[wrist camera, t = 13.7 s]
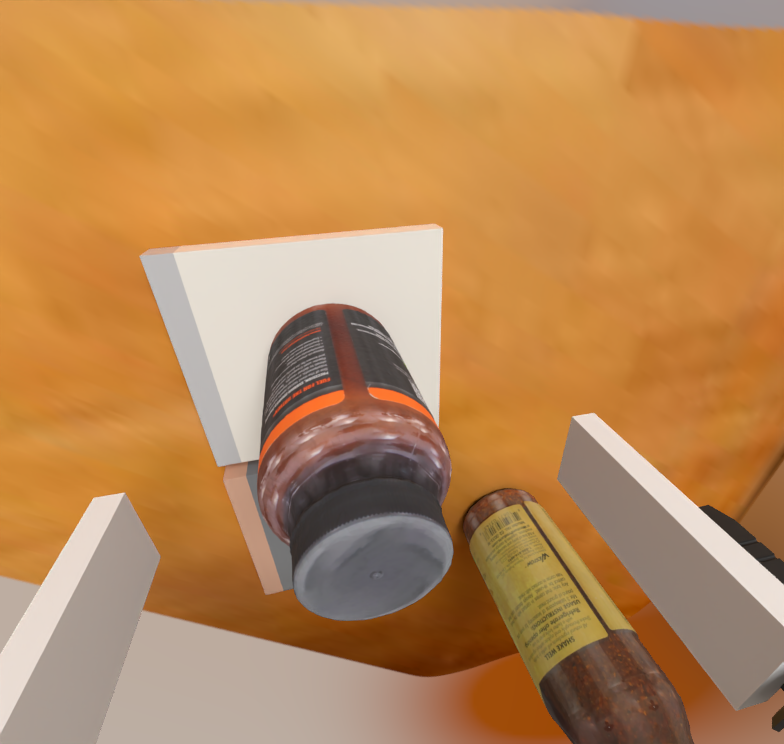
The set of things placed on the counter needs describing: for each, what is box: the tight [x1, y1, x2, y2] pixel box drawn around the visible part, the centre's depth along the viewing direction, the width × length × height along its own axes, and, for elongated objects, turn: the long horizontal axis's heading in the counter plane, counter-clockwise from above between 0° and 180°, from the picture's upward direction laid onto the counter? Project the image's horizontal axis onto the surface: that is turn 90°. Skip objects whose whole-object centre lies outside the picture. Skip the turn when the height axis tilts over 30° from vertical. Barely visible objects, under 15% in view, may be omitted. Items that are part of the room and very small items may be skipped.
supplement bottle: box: [257, 303, 454, 621], centre depth 14 cm, size 6×6×11 cm
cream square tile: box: [140, 224, 443, 467], centre depth 19 cm, size 12×11×1 cm
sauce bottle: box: [463, 488, 694, 744], centre depth 21 cm, size 6×6×20 cm
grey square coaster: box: [223, 459, 293, 595], centre depth 25 cm, size 12×11×1 cm
